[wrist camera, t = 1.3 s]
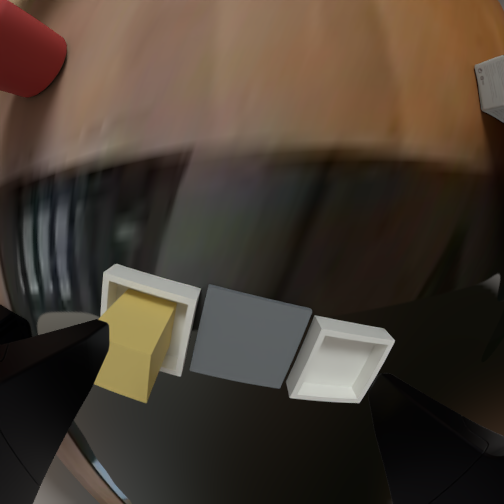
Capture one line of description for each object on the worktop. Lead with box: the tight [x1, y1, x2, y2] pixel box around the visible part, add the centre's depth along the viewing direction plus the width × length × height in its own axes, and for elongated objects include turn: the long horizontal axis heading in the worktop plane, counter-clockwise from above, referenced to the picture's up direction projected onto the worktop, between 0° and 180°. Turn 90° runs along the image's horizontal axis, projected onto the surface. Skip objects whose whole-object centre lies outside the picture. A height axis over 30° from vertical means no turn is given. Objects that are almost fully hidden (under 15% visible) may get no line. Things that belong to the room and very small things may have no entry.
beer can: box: [0, 0, 67, 98], centre depth 9 cm, size 7×7×12 cm
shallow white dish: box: [101, 264, 201, 377], centre depth 20 cm, size 7×7×2 cm
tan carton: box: [94, 289, 177, 403], centre depth 17 cm, size 4×4×7 cm
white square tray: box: [286, 315, 395, 403], centre depth 21 cm, size 7×7×2 cm
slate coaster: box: [190, 284, 312, 388], centre depth 21 cm, size 8×8×1 cm
